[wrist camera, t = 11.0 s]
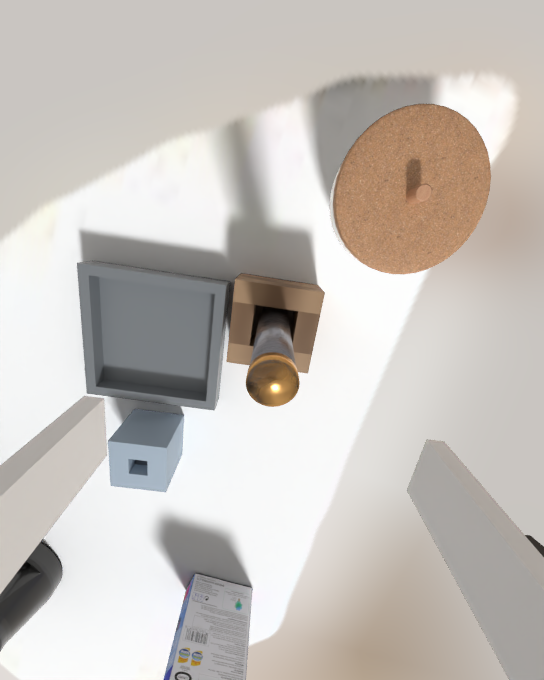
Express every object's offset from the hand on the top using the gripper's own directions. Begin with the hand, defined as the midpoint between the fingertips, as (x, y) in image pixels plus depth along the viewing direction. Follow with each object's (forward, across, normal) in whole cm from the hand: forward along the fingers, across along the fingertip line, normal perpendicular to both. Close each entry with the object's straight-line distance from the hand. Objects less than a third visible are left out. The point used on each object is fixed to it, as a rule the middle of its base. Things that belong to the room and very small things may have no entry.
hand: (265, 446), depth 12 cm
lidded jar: (+20, -8, -12) cm, 25 cm away
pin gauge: (+19, 0, 0) cm, 19 cm away
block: (+21, +12, +17) cm, 29 cm away
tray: (+20, +12, +4) cm, 24 cm away
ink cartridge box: (+21, +2, +46) cm, 50 cm away
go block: (+20, 0, 0) cm, 20 cm away
